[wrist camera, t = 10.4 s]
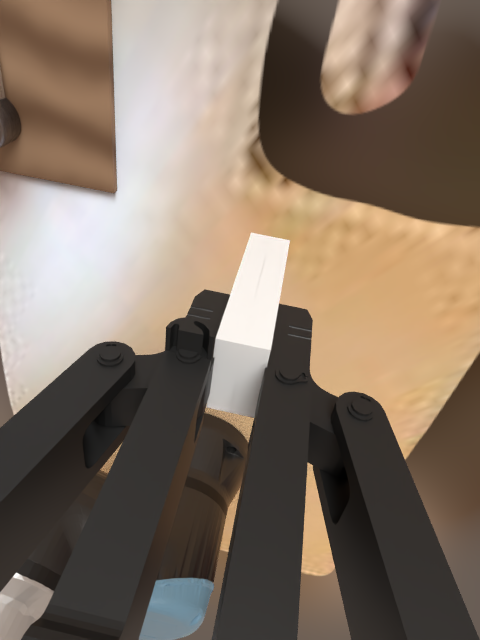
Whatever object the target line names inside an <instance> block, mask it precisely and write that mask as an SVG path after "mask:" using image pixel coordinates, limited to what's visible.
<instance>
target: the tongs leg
mask: <svg viewBox="0 0 480 640" xmlns="http://www.w3.org/2000/svg"><path fill="white" fill-rule="evenodd" d="M20 131H21V121H20V117H19V114H18V112H17V110H16V108H15V107H14V105H13V104H12V103H11V102H10V101H9V100H8V99H7V98H6V97H5V91H4V85H3V79H2V73H1V67H0V148H1V147H3V146H5V145H7V144H9V143H11V142H13V141H15V140H16V139H17V138H18V136H19V134H20Z"/></svg>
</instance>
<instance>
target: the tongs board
mask: <svg viewBox="0 0 480 640" xmlns="http://www.w3.org/2000/svg"><path fill="white" fill-rule="evenodd" d="M0 67H1V73H2V79H3V85H4V91H5V97H6V98H7V99H8V100H9V101H10V102H11V103H12V104H13V105H14V107H15V108H16V110H17V112H18V114H19V117H20V121H21V131H20V134H19V136H18V138H17V139H16V140H15V141H13V142H11V143H9V144H7V145H5V146H3V147H1V148H0V171H5V172H10V173H15V174H20V175H25V176H30V177H35V178H40V179H45V180H50V181H55V182H60V183H65V184H70V185H75V186H80V187H85V188H90V189H95V190H100V191H105V192H110V193H114V192H116V191H117V175H116V143H115V111H114V79H113V46H112V14H111V0H0Z"/></svg>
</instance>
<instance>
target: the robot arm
mask: <svg viewBox="0 0 480 640" xmlns="http://www.w3.org/2000/svg"><path fill="white" fill-rule="evenodd" d="M289 242H290V240H286V239H281V238H276V237H270V236H265V235H260V234H255V233H251V235H250V238H249V241H248V244H247V247H246V250H245V253H244V256H243V259H242V262H241V265H240V268H239V271H238V273H237V276H236V279H235V282H234V285H233V288H232V291H231V294H230V295H229V294H224V293H219V292H214V291H210V290H204V291H202V292H201V293H199V294H198V295H197V296H195V298H194V300H193V303H192V305H191V308H190V309H189V312H188V315H187V316H186V317H185V318H179V319H176V320H174V321H172V322H170V324H169V325H168V326H167V327H166V344H165V351H164V352H161V353H158V354H152V355H135V353H134V351H133V350H132V348H131V347H129V346H128V345H126V344H124V343H120V342H103V343H100V344H97V345H95V346H94V347H92V348H90V349H89V350H88V351H87V352H86V353H85V354H83V355H82V356H81V357H80V358H79V359H78V360H77V361H75V362H74V363H73V364H72V365H71V366H70V367H69V368H68V369H66V370H65V371H64V372H63V373H62V374H61V375H60V376H58V377H57V378H56V379H55V380H54V381H53V382H52V383H51V384H49V385H48V386H47V387H46V388H45V389H44V390H43V391H41V392H40V393H39V394H38V395H37V396H36V397H35V398H34V399H32V400H31V401H30V402H29V403H28V404H27V405H26V406H25V407H23V408H22V409H21V410H20V411H19V412H18V413H17V414H15V415H14V416H13V417H12V418H11V419H10V420H9V421H8V422H7V423H5V424H4V425H3V426H2V427H1V428H0V640H174V639H179V638H182V637H185V636H188V635H189V634H191V633H193V632H194V631H196V630H197V629H198V628H199V627H200V625H201V624H202V622H203V620H204V617H205V613H206V610H207V606H208V602H209V598H210V595H211V593H212V591H213V588H214V584H213V582H214V577H215V571H216V567H217V561H218V556H219V551H220V546H221V541H222V535H223V530H224V525H225V519H226V515H227V510H228V507H229V505H230V503H231V502H232V500H233V498H234V497H235V495H236V493H237V492H238V490H239V488H240V487H241V488H240V494H239V499H238V504H237V509H236V515H235V520H234V525H233V531H232V536H231V541H230V546H229V552H228V558H227V562H226V568H225V573H224V578H223V583H222V589H221V594H220V599H219V605H218V610H217V615H216V620H215V626H214V631H213V636H212V640H297V633H298V615H299V598H300V581H301V564H302V547H303V530H304V513H305V496H306V478H307V462H308V463H310V464H312V465H313V471H314V476H315V480H316V485H317V489H318V493H319V498H320V502H321V507H322V511H323V516H324V520H325V525H326V529H327V533H328V538H329V542H330V547H331V551H332V556H333V560H334V564H335V569H336V573H337V578H338V582H339V586H340V591H341V596H342V600H343V604H344V609H345V613H346V617H347V622H348V626H349V631H350V635H351V640H479V637H478V635H477V632H476V630H475V628H474V625H473V623H472V620H471V618H470V616H469V614H468V611H467V608H466V606H465V604H464V601H463V599H462V596H461V594H460V592H459V589H458V587H457V584H456V582H455V580H454V577H453V575H452V572H451V570H450V567H449V565H448V563H447V560H446V558H445V555H444V553H443V551H442V548H441V546H440V544H439V541H438V539H437V536H436V534H435V531H434V529H433V527H432V524H431V522H430V519H429V517H428V515H427V512H426V510H425V508H424V505H423V502H422V500H421V498H420V495H419V493H418V490H417V488H416V486H415V483H414V481H413V479H412V476H411V474H410V471H409V469H408V466H407V464H406V462H405V459H404V457H403V454H402V452H401V449H400V447H399V445H398V442H397V440H396V437H395V435H394V433H393V430H392V428H391V425H390V423H389V421H388V418H387V416H386V413H385V411H384V410H383V408H382V406H381V405H380V404H379V403H378V402H377V401H376V400H375V399H373V398H372V397H370V396H368V395H366V394H363V393H358V392H347V393H344V394H342V395H341V396H339V398H338V397H336V396H334V395H332V394H330V393H328V392H326V391H325V390H323V389H321V388H320V387H319V386H318V385H317V384H316V383H315V382H314V381H313V379H312V377H311V374H310V353H311V337H312V321H313V320H312V318H311V316H310V314H309V312H308V310H307V309H302V308H297V307H292V306H287V305H282V304H279V300H280V294H281V289H282V283H283V277H284V271H285V266H286V260H287V254H288V248H289ZM206 404H207V408H212V409H216V410H221V411H225V412H230V413H235V414H239V415H244V416H248V417H253V418H254V422H253V426H252V431H251V435H250V439H249V444H248V442H247V440H246V439H245V437H244V436H243V435H242V434H241V433H240V432H239V431H238V430H237V429H236V428H235V427H233V426H232V425H230V424H229V423H227V422H225V421H224V420H222V419H220V418H217V417H215V416H212V415H209V414H205V413H204V412H205V408H206ZM122 442H123V443H122ZM121 443H122V445H121V447H120V449H119V452H118V454H117V456H116V458H115V460H114V463H113V465H112V467H111V469H110V471H109V473H108V474H107V473H105V472H103V471H101V470H100V469H101V468H102V466H103V465H104V464H105V463H106V462H107V460H108V459H109V458H110V457H111V455H112V454H113V453H114V452H115V450H116V449H117V448H118V447H119V446H120V444H121Z"/></svg>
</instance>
